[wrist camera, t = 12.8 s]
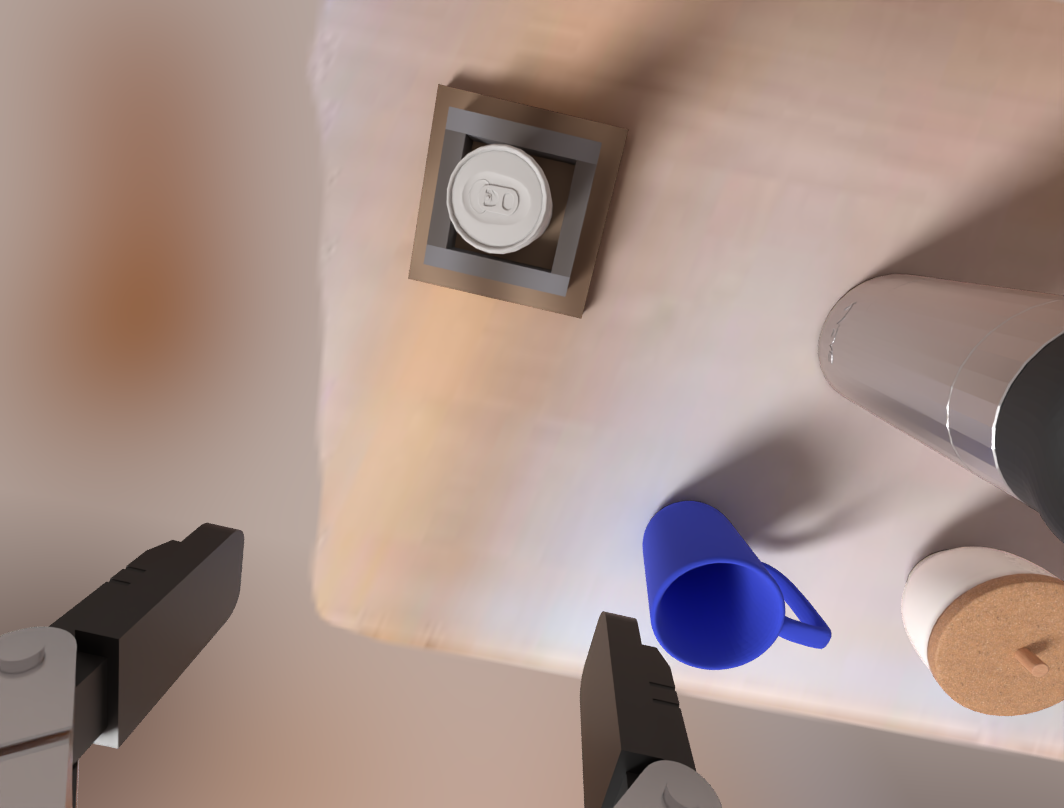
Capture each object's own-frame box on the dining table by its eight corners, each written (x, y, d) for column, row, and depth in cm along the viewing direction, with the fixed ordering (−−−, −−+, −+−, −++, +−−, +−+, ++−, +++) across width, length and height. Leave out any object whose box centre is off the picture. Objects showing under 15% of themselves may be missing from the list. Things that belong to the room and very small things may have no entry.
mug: (757, 606, 47) (808, 703, 37) (617, 562, 46) (632, 649, 37) (802, 520, 44) (868, 600, 35) (654, 473, 44) (681, 541, 34)
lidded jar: (904, 510, 44) (993, 582, 35) (1042, 536, 44) (1166, 615, 35) (855, 627, 47) (925, 720, 38) (984, 651, 47) (1083, 750, 38)
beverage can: (485, 160, 37) (451, 130, 25) (560, 176, 37) (560, 153, 25) (473, 238, 38) (435, 243, 27) (544, 253, 38) (538, 264, 27)
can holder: (625, 133, 37) (634, 120, 33) (580, 315, 41) (583, 325, 36) (443, 89, 37) (427, 71, 33) (413, 276, 40) (396, 282, 36)
